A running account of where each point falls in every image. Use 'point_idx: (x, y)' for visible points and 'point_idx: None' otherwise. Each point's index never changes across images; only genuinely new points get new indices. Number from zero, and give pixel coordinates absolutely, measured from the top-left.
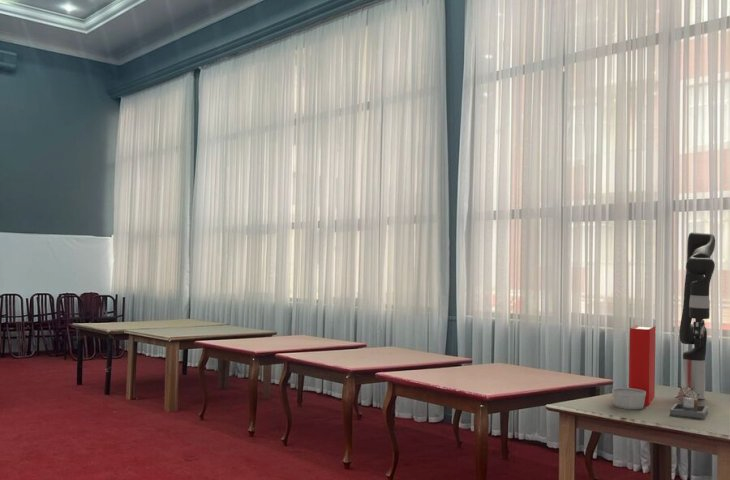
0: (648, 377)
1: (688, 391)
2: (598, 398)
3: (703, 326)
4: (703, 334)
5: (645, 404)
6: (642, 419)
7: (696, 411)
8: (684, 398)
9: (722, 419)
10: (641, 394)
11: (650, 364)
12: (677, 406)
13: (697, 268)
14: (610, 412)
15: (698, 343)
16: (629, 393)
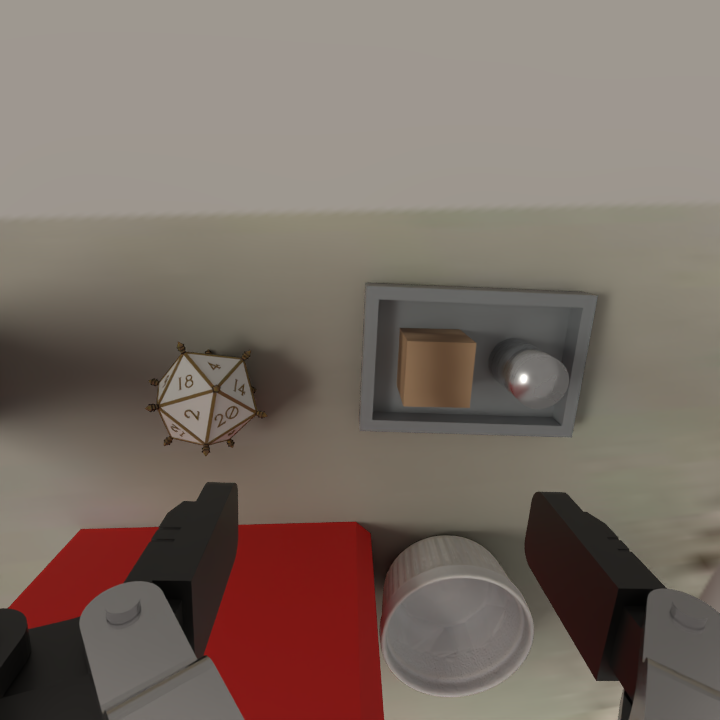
0: (361, 628)
1: (231, 401)
2: None
3: None
4: (129, 615)
5: (369, 535)
6: (699, 504)
7: (461, 331)
8: (549, 400)
9: (522, 212)
10: (504, 581)
11: (271, 699)
12: (402, 416)
13: None
14: None
15: (618, 547)
16: (533, 625)
